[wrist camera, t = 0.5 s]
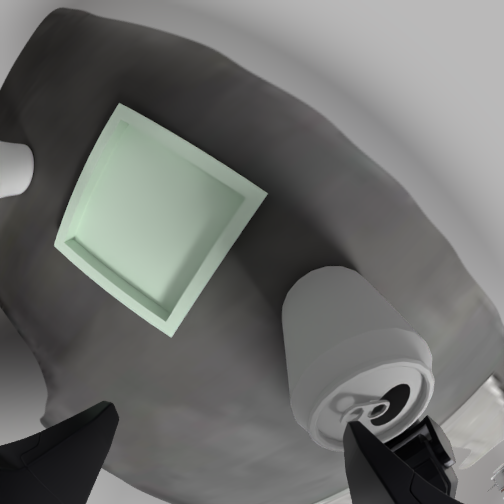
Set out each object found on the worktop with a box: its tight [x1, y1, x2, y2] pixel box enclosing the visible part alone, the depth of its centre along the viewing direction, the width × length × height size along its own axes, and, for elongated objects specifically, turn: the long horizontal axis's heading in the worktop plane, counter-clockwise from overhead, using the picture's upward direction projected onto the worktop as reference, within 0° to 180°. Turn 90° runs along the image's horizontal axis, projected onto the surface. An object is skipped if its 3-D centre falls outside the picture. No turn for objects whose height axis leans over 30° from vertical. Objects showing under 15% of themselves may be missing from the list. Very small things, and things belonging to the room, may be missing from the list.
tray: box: [54, 103, 268, 337], centre depth 19 cm, size 13×13×2 cm
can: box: [282, 266, 435, 451], centre depth 15 cm, size 8×8×12 cm
